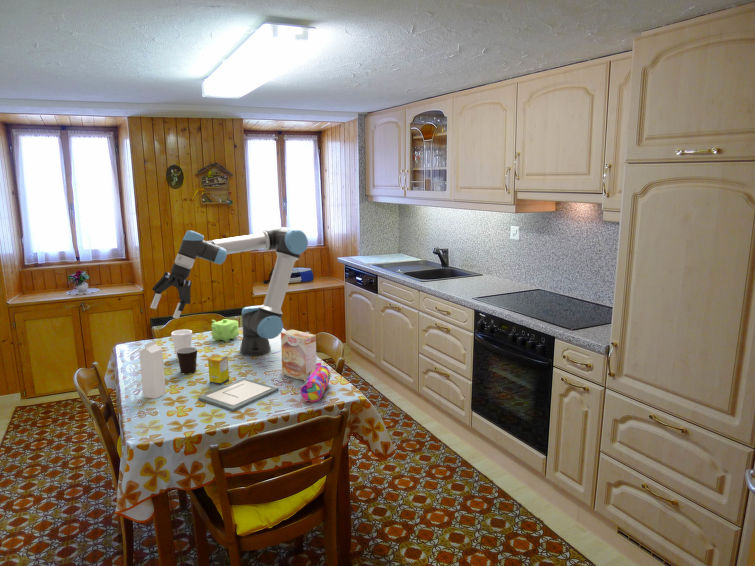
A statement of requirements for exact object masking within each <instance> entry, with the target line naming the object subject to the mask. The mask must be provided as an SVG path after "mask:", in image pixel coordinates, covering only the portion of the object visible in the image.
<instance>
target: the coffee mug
mask: <svg viewBox="0 0 755 566" xmlns="http://www.w3.org/2000/svg"><path fill="white" fill-rule="evenodd" d="M177 355H178V360H177V361H178V366H179V369H180V373H181V374H182V373H184V374H183V375H189V373H191V374H194V373H196V372H197V361H198V359H197V358H198V348H197V347H193V346H191V347H186V348H181V349H179V350H177ZM195 371H196V372H195Z"/></svg>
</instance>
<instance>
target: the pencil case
mask: <svg viewBox="0 0 755 566" xmlns="http://www.w3.org/2000/svg"><path fill="white" fill-rule="evenodd" d="M330 381H331V371H330V369H329V368H328V367H327V366H326V365H324V364H322V362H318V363H317V362H316V367H314V368H313V369H312V370H311V372H309V377H308V378H307V381H306V382H305V381H304V383H303V384H302V385H301V387H300V395H301V397H302V398H303V399H304V401H306V402H308V401H309V402H308V403H317V402H318V401H320V400H321V399H322V397H323V395H324V393H325V391H326V389H327V387H328V385H329V383H330ZM315 401H316V402H315Z"/></svg>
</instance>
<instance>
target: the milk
mask: <svg viewBox="0 0 755 566" xmlns="http://www.w3.org/2000/svg"><path fill="white" fill-rule="evenodd" d="M163 356H164V355H163V348H162V347H161V346H159V345H158V344H157V342H156V340H152V341H151V342H148V343H145V344H144V348H143V349H142V350H140V351H139V362H140V365H139V366H140V375H141V384H142V385H141V387H142V396H143V398H146V399H147V398H148V399H153V400H155V399H158V398H160V397H162V396H164V395H165V394H166V392H167V391H166V381H165V380H166V379H165V369H164V368H165V367H164V357H163Z"/></svg>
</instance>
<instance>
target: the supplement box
mask: <svg viewBox="0 0 755 566" xmlns="http://www.w3.org/2000/svg"><path fill="white" fill-rule="evenodd" d="M228 359H229V358H228V356H227V355H221V354H215V355H213V356H211V357H209V358H207V363H208V365H207V366H208V379H209V384H212V383H213V384H212V385H219V386H220V385H221V386H222V384H224V383H227V382H229V381H230V377H229V376H230V375H229V373H230V372H229V361H228Z"/></svg>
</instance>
